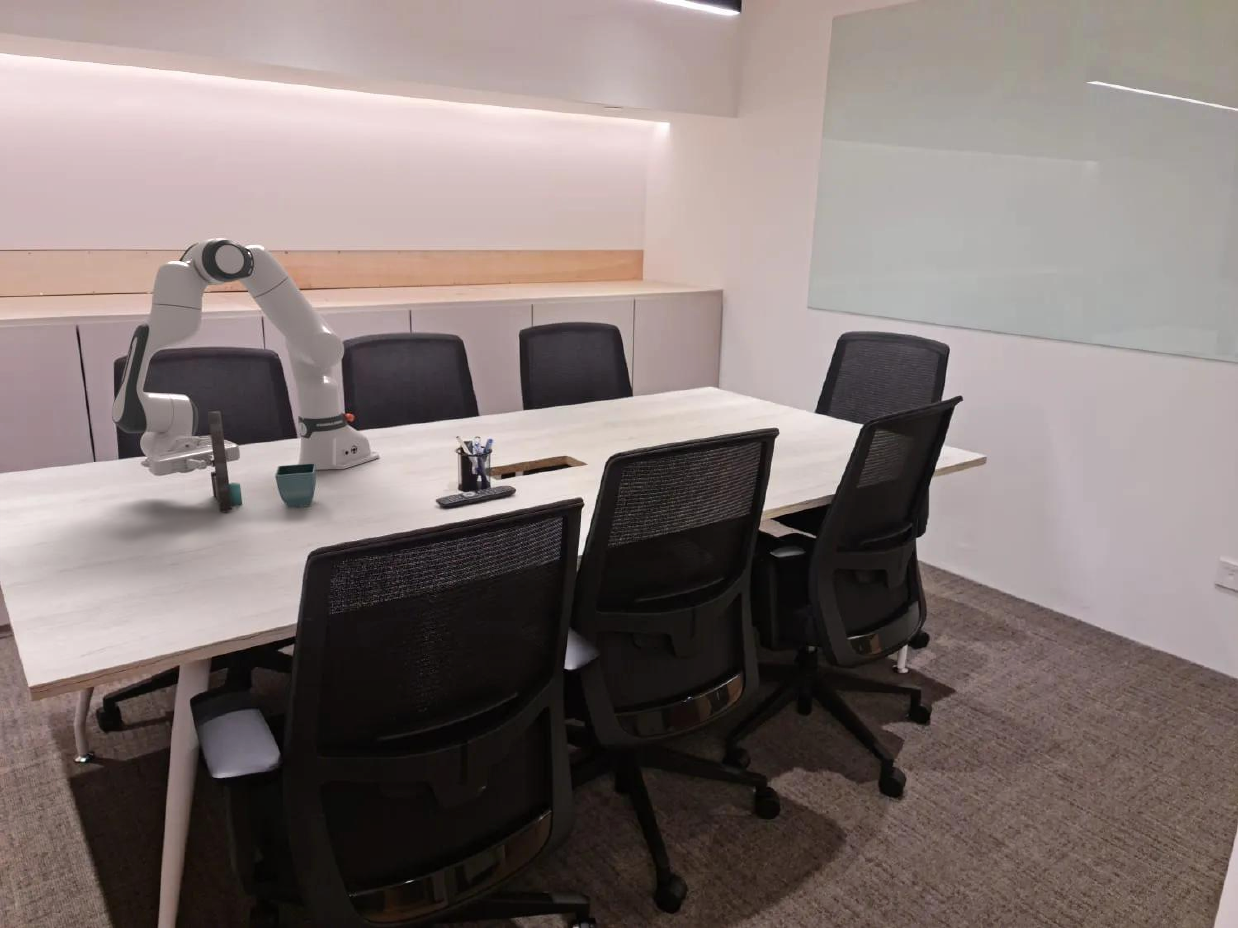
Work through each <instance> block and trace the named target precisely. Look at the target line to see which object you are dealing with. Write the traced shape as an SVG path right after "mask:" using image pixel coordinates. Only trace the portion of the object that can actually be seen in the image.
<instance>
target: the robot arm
mask: <svg viewBox="0 0 1238 928" xmlns="http://www.w3.org/2000/svg"><path fill="white" fill-rule="evenodd" d="M156 272H157V273H156V276H155V279H154V284H153V290H152V296H151V297H152V298H151V309H150V313H149V315H148V317H147V319H146V320H145V322H144V323H142V324H140V325H138V326H137V327H136V329H135V330H134V333H133V334H132V338H131V341H130V344H129V348H128V352H127V356H126V359H125V363H124V368H123V372H122V376H121V379H120V380H121V381H120V384H119V388H118V390H117V393H116V394H115V397H114V401H113V403H112V407H111V418H112V421H113V423H114V424H115V425H116V426H117V427H118V428H119V429H120V430H122V431H123V432H124V433H127V434H141V433H142V436H141V438H140V441H139V443H140V448H141V451H142V453H143V454H144V455H145V456H146V459H144V461H141V462H140V465H141V466H142V467H144V468H148V471H149V472H150V474H152V475H154V476H156V477H158V476H159V477H160V476H161V477H162V476H168V475H172V474H177V473H180V474H187V473H190V472H193V471H195V470H205V469H207V467H212V468H215V464H214V456H213V448H212V440H211V435H197V436H196V435H195V434H196V432H197V429H198V425H199V411H198V408H197V406H196V405H195V404H194V402H193V400H192V399H191V398H190V397H189V396H188V395H186V394H180V393H179V394H178V393H160V392H159V393H158V392H145V391H144V385H145V381H146V378H147V377H146V376H147V374H148V373H147V372H148V370H149V369H148V368H149V366H150V365H149V364H150V361H151V358H153V356H154V355H155V354H156V353H157V352H159V351H161V350H164V349H166V348H169V347H173V346H178V345H180V344H181V345H182V344H183V343H186V342H188V341H190V340H191V339H193V338H194V337H195V336H196V335H197V334H198V333H199V330H200V328H201V324H202V314H203V313H202V312H203V310H202V309H203V297H204V293H205V290H206V289H207V287H208V286H213V285H214V286H217V285H218V286H219V285H223V284H226V283H232V282H236V281H238V282H239V283H241V285H243V287H245V288H246V290H247V292H248V293H249V294H250V297H251V298H252V299H253V300H254V302H255V303H256V304H257V306H258V307H259V308H260V310H261V311H262V313H264V315H265V316H266V317H267V319H268V320H269V321H270V323H271V324H272V325H273V326H274V327H275V328H276V329H277V330H278V331H279V332H280V333H281V334H282V336H284V338H285V340H284V341H285V347H286V349H287V350H286V351H287V352H288V357H289V361H290V366H291V370H292V374H293V377H294V382H295V387H296V393H297V403H298V413H299V415H298V416H297V420H298V432H299V436H300V448H299V449H300V450H299V451H300V453H299V459H298V463H297V465H299V464H311V463H315V464H316V471H318V470H320V471H321V470H345V469H347V468H351V467H354V466H357V465H360V464H363V463H367V462H369V461H373V460H377V459H379V458H380V455H379V454H380V453H379V452H377V451H375V450H373V449H371V446H370V441H369V439H368V437H367V436H366V435H365V434H363V433H361V432H360V431H358V430H357V429H355V428H353V427H352V426H350V425H349V423H348V422H353V421H354V420H355V416H354V414H351V413H346V414H345V413H343V412H342V409H341V397H340V387H339V383H338V381H337V379H336V376H335V372H334V369H333V367H335V366H336V365H338V364H339V363H340V362H341V361H342V359H343V357H344V355H345V346H344V342H343V341H342V339H341V338H340V336H339V335H338V334H337V333H336V332H335V331H334V330H333V328H332V327H331V326H330V324H328V322H327V321H326V320H325V318H324V317H322V315H321V314H320V313H319V312H318V310H316V308H315V307H314V306H313V305H312V304H311V303H310V302H309V300H308V299H307V297H305V295H304V294H303V293H302V291H301V290H300V288H299V286H298V285H297V284H296V283H295V281H294V280H293V279H292V277H291V276H290V274H289V273H288V272H287V270H286V269H285V267H284V266H283V265H282V264H281V263H280V261H279V260H278V259H277V258H276V257H275V256H274V255H273V253H271V251H269V250H268V249H267V248H266V247H264V246H262V245H261V244H260V245H259V244H251V245H247V246H243V245H241V244H240V243H238V242H236V241H234V240H232V239H231V238H225V237H216V238H208V239H205V240H203V241H202V240H201V241H200V242H197V243H194V244H192V245H190V246H189V247H188V248H187V249H186V250H185V252H184V253H183V255H182V256H181V257H180V259H179V260H173V261H167V262H164V263H163V264H161V265H160V267H158V269H157V271H156ZM347 421H348V422H347ZM224 446H225V454H226V462H227V463H229V462H234V461H238V460H239V459H240V458H241V452H240V447H239V445H238V444H237V443H234V442H232V441H229V440H227V439H224Z"/></svg>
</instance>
